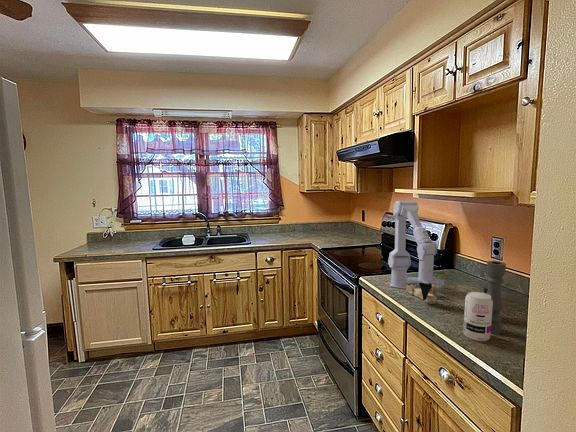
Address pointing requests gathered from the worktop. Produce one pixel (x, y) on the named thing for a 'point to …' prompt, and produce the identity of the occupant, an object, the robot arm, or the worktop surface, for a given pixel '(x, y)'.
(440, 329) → the worktop surface
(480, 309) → the supplement can
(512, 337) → the worktop surface
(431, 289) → the keeper
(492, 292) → the candle holder
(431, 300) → the link
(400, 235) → the robot arm
